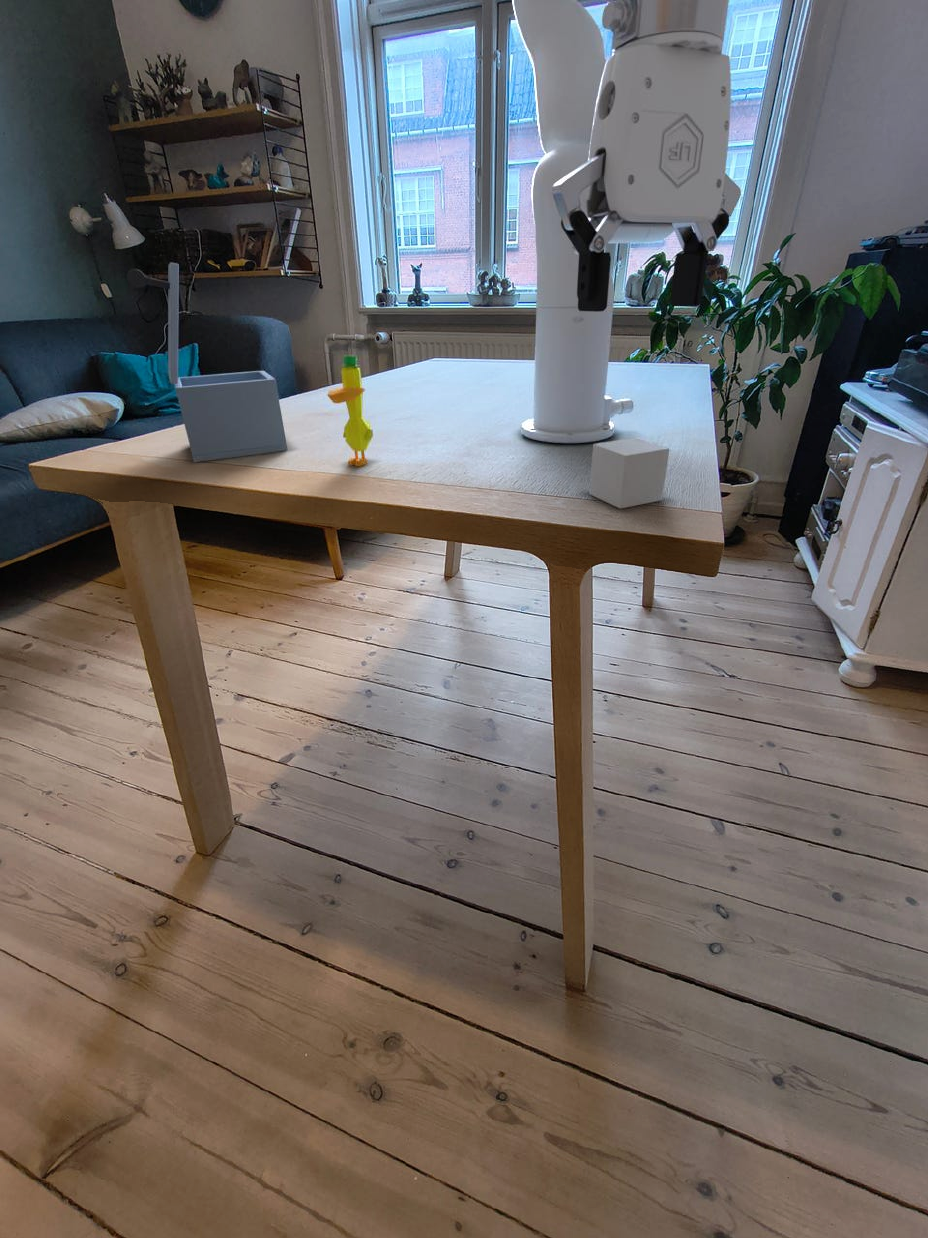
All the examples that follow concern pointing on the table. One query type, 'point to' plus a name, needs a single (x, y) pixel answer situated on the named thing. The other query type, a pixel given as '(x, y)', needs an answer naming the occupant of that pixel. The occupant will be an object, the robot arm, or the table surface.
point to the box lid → (139, 281)
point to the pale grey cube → (628, 472)
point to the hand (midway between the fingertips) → (639, 308)
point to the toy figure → (353, 409)
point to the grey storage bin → (231, 415)
